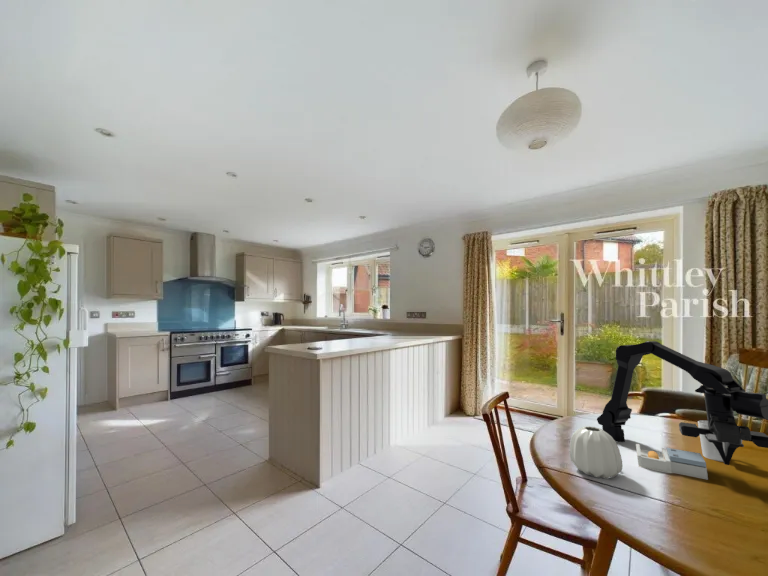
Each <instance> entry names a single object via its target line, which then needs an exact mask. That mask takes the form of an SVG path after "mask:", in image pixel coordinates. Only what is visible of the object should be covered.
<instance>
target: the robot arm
mask: <svg viewBox="0 0 768 576" xmlns="http://www.w3.org/2000/svg"><path fill="white" fill-rule="evenodd" d="M650 354H651V355H653V356H655V357H657V358H659V359H661V360H663V361H665V362H667V363H669V364H671V365H673V366H675V367H676V368H679V369H681V370H683V371H685V372H686V373H688V374H689V375H690V376H691V378H692V379H694V380H695V381H696V382H699V383H700V386H699V387H698V388H696V389H695V390H694V392H695V393H699V394H704V401H705V403H704V404H705V410H706V417H707V420H706V421H708V428H709V429H705V428H698V425H697V424H696V423H691V422H690V423H689V422H683V421H682V422H681V421H680V423H679V424H678V428H679V429H678V430H679V431H680V433H681V436H684V437H685V436H686V437H690V438H691V437H692V438H698V437H700V434H702V435H705V438H706V439H707V440H708V441H709V442H712V443H713V444H714V445H715V447H716V449H717V451H718V452H719V454H720V456H721V458H722V460H723V461H722V462H723V464H724V465H726V466H729V465H730V463H731V460H732V458H733V455H734V453H735V451H736V450H737V449H739V448H744V446H745V445H744V444H743V441H746V442H751V443H753V444H754V445H756V446H757V447H758V448H765V449H768V435H767V434H766V433H765V432H759V431H752V430H751V429H750V428H749V426H746V425H745V426H743V425H737V423H736V418H735V414H734V413H735V412H736V413H737V414H738V415H742V416H747V417H751V418H756V419H762V420H767V421H768V398H767V394H766V393H763V392H749V391H746V389H744V388H743V387H742V386H741V384H739V383H738V382H737V380H735V379H734V377H733V375H732V373H731V372H730V371H729V370H727V369H725V368H722V367H720V366H716V365H714V364H710V363H706V362H701V361H698V360H697V359H696V360H695V359H694V358H692V357H689V356H687V355H685V354H683V353H680V352H679V351H676V350H674V349H672V348H671V347H668V346H665V345H663V344H662V343H660V342H659V341H658V340H657V341H656V340H650V341H649V340H648V341H644V342H642V343H636V344H622V345H619V346H617V347H616V349H615V360H616V363H617V370H616V376H615V380H614V383H613V389H612V394H611V398H610V400H609V401H608V402H606V404H605V406H604V408H603V410H602V414H600V415H599V416H598V417H597V418H596V420H597V423H598V425H601V426H602V427H601V429H602V430H603V431H605V432H607V433H608V434H609V435H610V436H612V437H613V439H614V440H615V442H616V443H617V442H623V443H625V441H626V439H625V430H624V429H623V428H622V427H623V426H625V425H626V422H628V421H629V419H631V418H632V417H631V414H632V411H633V409H632V408H629V406H628V403H627V400H628V396H629V393H630V388H631V384H632V379H633V375H634V371H635V369H636V368H637V367H638V366H639V364H640V363H641V362H642V359H643V356H647V355H650ZM722 442H724V444H725V453H724V449H723V443H722Z"/></svg>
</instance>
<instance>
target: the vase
mask: <svg viewBox="0 0 768 576" xmlns="http://www.w3.org/2000/svg"><path fill="white" fill-rule="evenodd" d="M569 441H570V442H569V458H570V461H571V462H572V463H573V465H574V466H575V467H576V468H577V470H578V471H580V472H582V473H584V474H585V475H588V476H592V477H595V478H601V479H610V478H615V477H616V476H618V475H619V474H620V472H622V471H623V459H622V454H621V452H620V448H619V446H618V443H617V441H615V440H614V439H613V437H612V436H610V435H609V434H608V433H607V432H605V431H603V429H602V428H600V427H595V426H586V425H585V426H583V427H580V428H578V429H576V430H575V431H574V432H573V434H572V435H571V437H570V440H569Z"/></svg>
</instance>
